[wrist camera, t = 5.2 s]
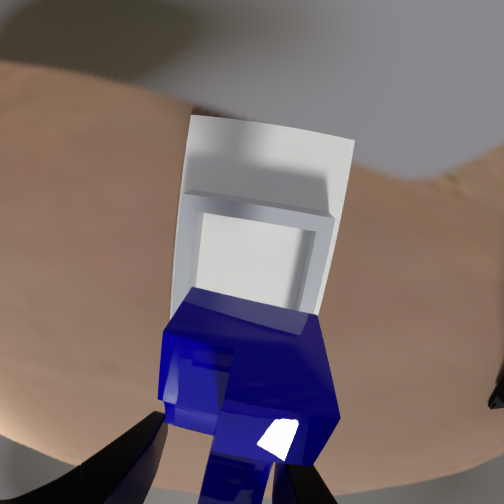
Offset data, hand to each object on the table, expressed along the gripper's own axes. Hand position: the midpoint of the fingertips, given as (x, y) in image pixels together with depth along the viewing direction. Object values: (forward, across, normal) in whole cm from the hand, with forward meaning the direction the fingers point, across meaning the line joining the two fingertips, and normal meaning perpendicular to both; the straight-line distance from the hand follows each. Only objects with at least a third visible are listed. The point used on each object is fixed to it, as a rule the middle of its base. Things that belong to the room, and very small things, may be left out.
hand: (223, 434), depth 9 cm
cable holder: (+1, 0, 0) cm, 1 cm away
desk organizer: (+11, 0, 0) cm, 11 cm away
